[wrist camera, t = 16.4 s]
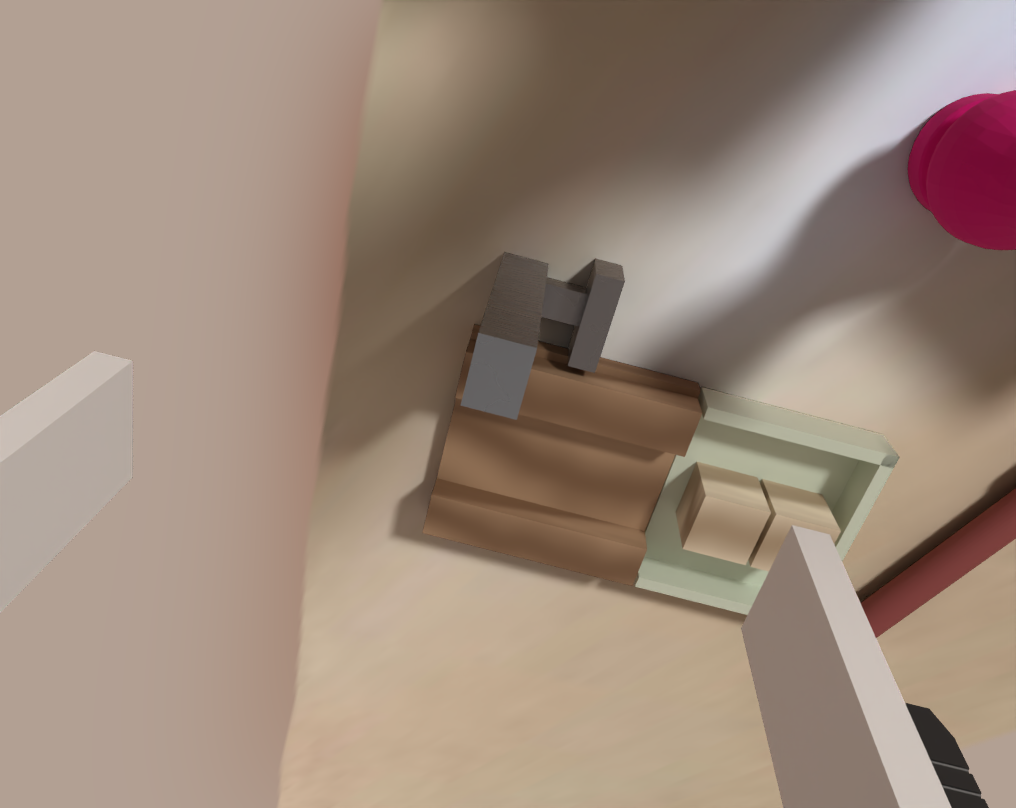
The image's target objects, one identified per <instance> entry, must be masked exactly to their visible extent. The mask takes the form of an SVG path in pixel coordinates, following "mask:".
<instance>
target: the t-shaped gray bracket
mask: <svg viewBox="0 0 1016 808" xmlns="http://www.w3.org/2000/svg"><path fill="white" fill-rule="evenodd" d="M547 271H548V264H547V263H543V262H540V261H536V260H532V259H528V258H525V257H521V256H517V255H513V254H510V253H506V252H505V253H504V256H503V259H502V262H501V265H500V268H499V271H498V274H497V277H496V280H495V284H494V287H493V290H492V293H491V296H490V299H489V302H488V305H487V308H486V311H485V314H484V317H483V320H482V323H481V326H480V329H479V332H478V336H477V340H476V344H475V349H474V353H473V357H472V361H471V365H470V369H469V373H468V377H467V381H466V385H465V389H464V393H463V397H462V401H461V406H465V407H468V408H472V409H476V410H480V411H484V412H488V413H492V414H495V415H499V416H503V417H507V418H511V419H515V420H517V417H518V414H519V410H520V407H521V403H522V400H523V396H524V393H525V389H526V386H527V382H528V379H529V375H530V371H531V368H532V364H533V361H534V357H535V354H536V350H537V345H538V338H539V331H540V323H541V317H544V318H547V319H551V320H555V321H559V322H563V323H566V324H570V325H574V326H575V327H574V330H573V333H572V336H571V340H570V343H569V346H568V366H570V367H574V368H578V369H581V370H585V371H589V372H593V373H595V371H596V368H597V365H598V362H599V359H600V356H601V353H602V350H603V346H604V343H605V340H606V337H607V334H608V331H609V328H610V325H611V322H612V319H613V316H614V313H615V310H616V307H617V304H618V301H619V297H620V294H621V291H622V288H623V285H624V282H625V280H624V274H623V268H622V266H621V265H618V264H614V263H610V262H606V261H603V260H599V259H595V261H594V264H593V267H592V271H591V274H590V277H589V281H588V284H587V287H586V288H585V287H581V286H578V285H574V284H570V283H566V282H563V281H559V280H555V279H551V278H547Z"/></svg>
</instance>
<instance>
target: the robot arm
mask: <svg viewBox="0 0 1016 808" xmlns="http://www.w3.org/2000/svg"><path fill="white" fill-rule="evenodd" d="M132 476H133V360H129V359H125V358H121V357H117V356H113V355H109V354H105V353H101V352H97V351H93V352H92V353H90V354H89V355H87V356H86V357H84V358H83V359H82V360H80V361H79V362H77V363H76V364H74V365H73V366H71V367H70V368H68V369H67V370H66V371H64V372H63V373H61V374H60V375H58V376H57V377H56V378H54V379H53V380H51V381H50V382H48V383H47V384H45V385H44V386H43V387H41V388H40V389H38V390H37V391H35V392H34V393H32V394H31V395H30V396H28V397H27V398H25V399H24V400H22V401H21V402H19V403H18V404H16V405H15V406H14V407H12V408H11V409H9V410H8V411H6V412H5V413H3V414H2V415H0V613H1V612H2V611H3V610H4V609H5V608H6V607H7V606H8V605H9V604H10V603H11V602H12V601H13V600H14V599H15V597H16V596H18V595H19V593H20V592H21V591H22V590H23V589H24V588H25V587H26V586H27V585H28V584H29V583H30V582H31V581H32V580H33V579H34V578H35V577H36V576H37V575H38V574H39V573H40V572H41V571H42V570H43V569H44V568H45V567H46V566H47V565H48V564H49V563H50V562H51V561H52V560H53V559H54V557H56V556H57V554H59V553H60V551H61V550H62V549H63V548H64V547H65V546H66V545H67V544H68V543H69V542H70V541H71V540H72V539H73V538H74V537H75V536H76V535H77V534H78V533H79V532H80V531H81V530H82V529H83V528H84V527H85V526H86V525H87V524H88V523H89V522H90V521H91V520H92V519H93V518H94V517H95V516H96V515H97V513H99V512H100V510H101V509H102V508H103V507H104V506H105V505H106V504H107V503H108V502H109V501H110V500H111V499H112V498H113V497H114V496H115V495H116V494H117V493H118V492H119V491H120V490H121V489H122V488H123V487H124V486H125V485H126V484H127V483H128V482H129V481H130V480H131V479H132V478H133V477H132ZM741 630H742V634H743V638H744V643H745V647H746V651H747V655H748V659H749V664H750V668H751V672H752V676H753V681H754V685H755V689H756V693H757V698H758V702H759V706H760V710H761V715H762V719H763V723H764V727H765V731H766V736H767V740H768V744H769V748H770V753H771V757H772V761H773V765H774V770H775V774H776V778H777V782H778V786H779V791H780V795H781V799H782V803H783V808H988V806H987V803H986V801H985V800H984V799H981V791H980V789H979V787H978V785H977V783H976V781H975V779H974V777H973V775H972V774H969V772H968V770H969V767H968V765H967V763H966V761H965V759H964V757H963V755H962V753H961V751H960V749H959V747H958V745H957V742H956V740H955V738H954V737H953V736H952V735H951V734H950V732H949V731H948V730H947V729H946V728H945V727H944V725H943V724H942V723H941V722H940V721H939V720H938V718H937V717H936V716H935V715H934V714H933V713H932V711H931V710H930V709H928V708H924V707H920V706H916V705H912V704H908V703H905V702H904V700H903V698H902V695H901V693H900V691H899V689H898V686H897V684H896V682H895V680H894V677H893V675H892V673H891V671H890V668H889V666H888V664H887V662H886V659H885V657H884V655H883V653H882V650H881V648H880V646H879V644H878V641H877V639H876V637H875V635H874V632H873V630H872V628H871V626H870V623H869V621H868V619H867V617H866V615H865V612H864V610H863V608H862V606H861V603H860V601H859V599H858V597H857V594H856V592H855V590H854V588H853V585H852V583H851V581H850V579H849V576H848V574H847V572H846V570H845V567H844V565H843V563H842V561H841V558H840V556H839V554H838V552H837V549H836V547H835V545H834V543H833V540H832V538H831V536H830V534H826V533H822V532H818V531H814V530H810V529H806V528H802V527H798V526H794V525H792V526H791V528H790V530H789V532H788V534H787V536H786V538H785V540H784V542H783V544H782V546H781V548H780V550H779V552H778V554H777V556H776V558H775V560H774V562H773V564H772V566H771V568H770V570H769V572H768V574H767V577H766V579H765V581H764V583H763V585H762V587H761V589H760V591H759V593H758V595H757V597H756V599H755V601H754V603H753V605H752V607H751V609H750V611H749V613H748V615H747V617H746V619H745V621H744V623H743V625H742V627H741Z"/></svg>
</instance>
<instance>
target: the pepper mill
mask: <svg viewBox="0 0 1016 808" xmlns="http://www.w3.org/2000/svg"><path fill="white" fill-rule="evenodd" d="M908 176H909V183H910V187H911V189H912V192H913V193H914V195H915V196H916V198H917V200H918V201H919V202H920V203H921V204H922V205H923V206H924V207H925V208H926V209H928V210H929V211H931V212H932V213H933V215H934V216H935V218H936V220H937V221H938V222H939V224H940V225H941V226H942V227H943V228H944V229H945V230H946V231H947V232H948V233H950V234H951V235H953V236H954V237H955V238H957V239H960V240H962V241H964V242H966V243H969V244H972V245H975V246H978V247H982V248H985V249H993V250H1016V90H1014V91H1010V92H1005V93H1001V94H989V93H987V94H977V95H972V96H968V97H964V98H961V99H959V100H957V101H955V102H953V103H951V104H949V105H947V106H946V107H944V108H943V109H942V110H940V111H939V112H937V113H936V114H935V115H934V116H933V117H932V118H931V119H930V120H929V121H928V122H927V123H926V125H925V126H924V127H923V128H922V130H921V131H920V133H919V135H918V136H917V138H916V140H915V142H914V144H913V147H912V150H911V153H910V156H909V162H908Z"/></svg>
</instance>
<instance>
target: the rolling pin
mask: <svg viewBox="0 0 1016 808" xmlns="http://www.w3.org/2000/svg"><path fill="white" fill-rule="evenodd" d="M1014 539H1016V488H1015V489H1014V490H1012V491H1011V492H1010V493H1008V494H1007V495H1006V496H1004V497H1003V498H1002V499H1000V500H999V501H998V502H996V503H995V504H994V505H992V506H991V507H990V508H988V509H987V510H986V511H984V512H983V513H981V514H980V515H979V516H977V517H976V518H975V519H973V520H972V521H971V522H969V523H968V524H967V525H965V526H964V527H963V528H961V529H960V530H959V531H957V532H956V533H954V534H953V535H952V536H950V537H949V538H948V539H946V540H945V541H944V542H942V543H941V544H940V545H938V546H937V547H936V548H934V549H933V550H932V551H930V552H929V553H928V554H926V555H925V556H923V557H922V558H921V559H919V560H918V561H917V562H915V563H914V564H913V565H911V566H910V567H909V568H907V569H906V570H905V571H903V572H902V573H901V574H899V575H898V576H897V577H895V578H894V579H892V580H891V581H890V582H888V583H887V584H886V585H884V586H883V587H882V588H880V589H879V590H878V591H876V592H875V593H874V594H872V595H871V596H870V597H868V598H867V599H865V600H864V601H863V602H861V606H862V608H863V610H864V612H865V615H866V617H867V619H868V621H869V623H870V626H871V628H872V630H873V632H874V635H875V637H876V638H877V637H878V636H880V635H881V634H882V633H884V632H885V631H887V630H888V629H889V628H891V627H892V626H894V625H895V624H896V623H898V622H899V621H901V620H902V619H903V618H905V617H906V616H908V615H909V614H910V613H912V612H913V611H915V610H916V609H918V608H919V607H920V606H922V605H923V604H925V603H926V602H927V601H929V600H930V599H932V598H933V597H934V596H936V595H937V594H939V593H940V592H941V591H943V590H944V589H946V588H947V587H948V586H950V585H951V584H953V583H954V582H955V581H957V580H958V579H960V578H961V577H962V576H964V575H965V574H967V573H968V572H969V571H971V570H972V569H974V568H975V567H976V566H978V565H979V564H981V563H982V562H983V561H985V560H986V559H988V558H989V557H990V556H992V555H993V554H995V553H996V552H997V551H999V550H1000V549H1002V548H1003V547H1004V546H1006V545H1007V544H1009V543H1010V542H1011V541H1013V540H1014Z"/></svg>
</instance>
